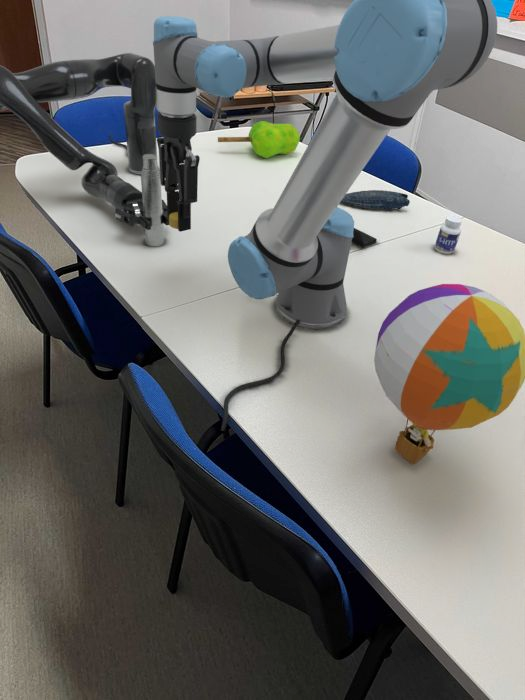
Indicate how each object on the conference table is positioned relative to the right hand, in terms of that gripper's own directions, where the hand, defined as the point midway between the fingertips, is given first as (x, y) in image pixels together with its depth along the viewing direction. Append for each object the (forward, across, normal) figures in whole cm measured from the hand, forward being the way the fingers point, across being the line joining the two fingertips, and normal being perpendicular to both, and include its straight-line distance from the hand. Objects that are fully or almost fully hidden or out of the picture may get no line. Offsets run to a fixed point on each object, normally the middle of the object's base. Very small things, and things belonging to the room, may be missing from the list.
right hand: (179, 225), depth 114 cm
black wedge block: (+12, -7, -48) cm, 50 cm away
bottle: (+12, +16, -1) cm, 20 cm away
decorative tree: (+12, +60, -65) cm, 90 cm away
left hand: (+6, +13, -2) cm, 15 cm away
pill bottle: (+11, -24, -68) cm, 72 cm away
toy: (+11, -68, -4) cm, 69 cm away
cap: (-2, 0, 0) cm, 2 cm away
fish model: (+12, +6, -70) cm, 72 cm away
